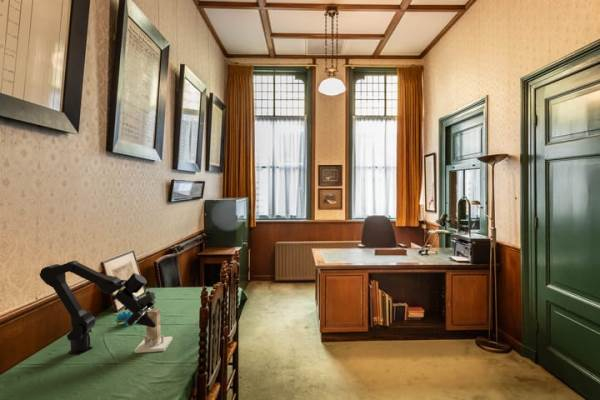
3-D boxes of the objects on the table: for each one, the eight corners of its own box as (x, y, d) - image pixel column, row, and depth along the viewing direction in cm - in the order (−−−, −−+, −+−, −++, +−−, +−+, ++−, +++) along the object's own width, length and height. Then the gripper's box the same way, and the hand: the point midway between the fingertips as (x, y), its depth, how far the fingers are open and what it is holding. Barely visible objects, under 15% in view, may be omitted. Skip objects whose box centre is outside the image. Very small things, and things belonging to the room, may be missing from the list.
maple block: (146, 342, 145) (145, 312, 145) (150, 338, 149) (149, 308, 149) (157, 341, 145) (156, 311, 145) (160, 337, 150) (160, 308, 149)
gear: (141, 317, 179) (134, 308, 172) (140, 328, 175) (132, 319, 168) (119, 321, 178) (111, 313, 171) (117, 332, 174) (109, 324, 166)
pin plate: (134, 352, 141) (134, 342, 141) (145, 340, 153) (144, 331, 153) (164, 350, 142) (163, 340, 142) (172, 339, 154) (172, 329, 154)
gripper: (134, 292, 137) (162, 318, 138) (150, 281, 156) (175, 304, 157) (114, 313, 137) (143, 339, 138) (133, 299, 155) (158, 322, 156)
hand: (156, 324), depth 147 cm, fingers closed on maple block, 4 cm apart
